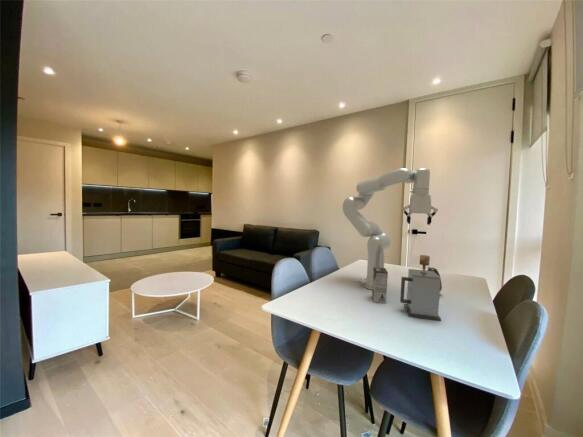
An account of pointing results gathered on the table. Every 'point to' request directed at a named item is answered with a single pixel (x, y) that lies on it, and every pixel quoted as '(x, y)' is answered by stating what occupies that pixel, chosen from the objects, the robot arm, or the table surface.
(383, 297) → the coffee box
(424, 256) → the plunger
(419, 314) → the press
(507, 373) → the table surface
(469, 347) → the table surface
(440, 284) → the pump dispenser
